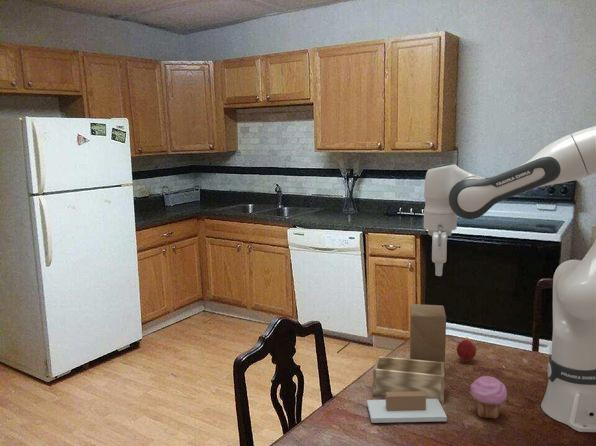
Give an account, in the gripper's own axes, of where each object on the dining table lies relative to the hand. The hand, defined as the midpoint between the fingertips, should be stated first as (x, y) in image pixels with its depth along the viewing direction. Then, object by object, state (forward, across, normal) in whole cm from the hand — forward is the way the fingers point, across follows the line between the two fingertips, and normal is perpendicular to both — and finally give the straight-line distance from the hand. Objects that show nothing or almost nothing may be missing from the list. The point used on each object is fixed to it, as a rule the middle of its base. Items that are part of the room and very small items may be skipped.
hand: (438, 270), depth 143 cm
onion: (+34, +17, -9) cm, 39 cm away
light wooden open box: (+34, -7, +7) cm, 36 cm away
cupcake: (+34, -14, -13) cm, 39 cm away
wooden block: (+34, +7, +3) cm, 35 cm away
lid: (+34, -19, +8) cm, 39 cm away
